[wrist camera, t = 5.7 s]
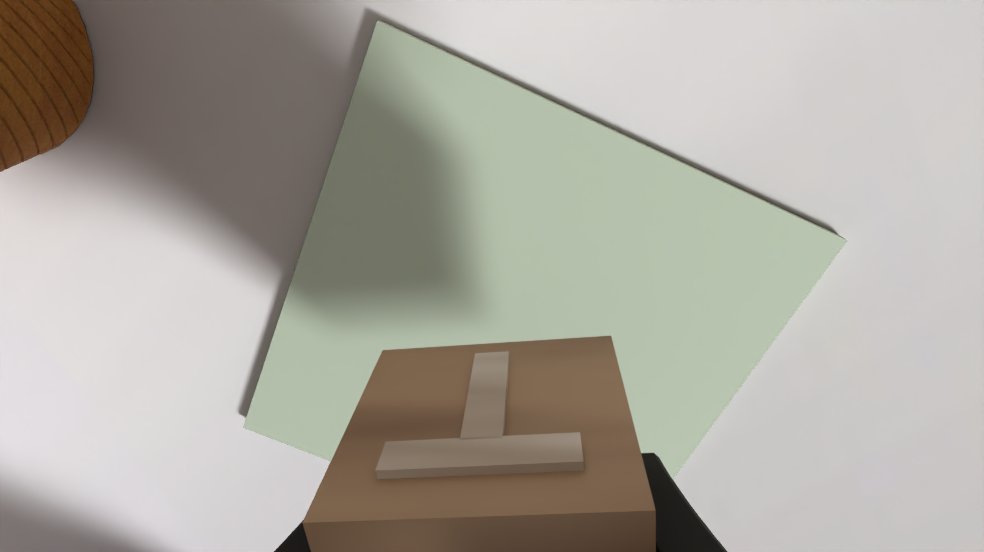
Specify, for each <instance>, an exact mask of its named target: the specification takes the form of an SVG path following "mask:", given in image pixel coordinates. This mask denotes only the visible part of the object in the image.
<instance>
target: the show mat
mask: <svg viewBox="0 0 984 552" xmlns="http://www.w3.org/2000/svg"><path fill="white" fill-rule="evenodd" d="M846 242H847V240H846V239H844V238H843V237H841V236H840V235H837V234H835V233H833V232H831V231H829V230H827V229H825V228H823V227H820V226H818V225H816V224H814V223H812V222H810V221H808V220H805V219H803V218H801V217H799V216H797V215H795V214H793V213H790V212H788V211H786V210H784V209H782V208H780V207H778V206H776V205H773V204H771V203H769V202H767V201H765V200H763V199H761V198H758V197H756V196H754V195H752V194H750V193H748V192H746V191H743V190H741V189H739V188H737V187H735V186H733V185H731V184H729V183H726V182H724V181H722V180H720V179H718V178H716V177H714V176H711V175H709V174H707V173H705V172H703V171H701V170H699V169H696V168H694V167H692V166H690V165H688V164H686V163H684V162H682V161H679V160H677V159H675V158H673V157H671V156H669V155H667V154H664V153H662V152H660V151H658V150H656V149H654V148H652V147H649V146H647V145H645V144H643V143H641V142H639V141H637V140H635V139H632V138H630V137H628V136H626V135H624V134H622V133H620V132H617V131H615V130H613V129H611V128H609V127H607V126H605V125H602V124H600V123H598V122H596V121H594V120H592V119H590V118H588V117H585V116H583V115H581V114H579V113H577V112H575V111H573V110H570V109H568V108H566V107H564V106H562V105H560V104H558V103H555V102H553V101H551V100H549V99H547V98H545V97H543V96H541V95H538V94H536V93H534V92H532V91H530V90H528V89H526V88H523V87H521V86H519V85H517V84H515V83H513V82H511V81H508V80H506V79H504V78H502V77H500V76H498V75H496V74H494V73H491V72H489V71H487V70H485V69H483V68H481V67H479V66H476V65H474V64H472V63H470V62H468V61H466V60H464V59H461V58H459V57H457V56H455V55H453V54H451V53H449V52H446V51H444V50H442V49H440V48H438V47H436V46H434V45H432V44H429V43H427V42H425V41H423V40H421V39H419V38H417V37H414V36H412V35H410V34H408V33H406V32H404V31H402V30H399V29H397V28H395V27H393V26H391V25H389V24H387V23H385V22H382V21H377V22H376V25H375V28H374V32H373V35H372V38H371V41H370V44H369V47H368V50H367V53H366V56H365V59H364V62H363V65H362V68H361V71H360V74H359V77H358V80H357V83H356V86H355V89H354V92H353V95H352V98H351V101H350V104H349V107H348V110H347V113H346V117H345V120H344V123H343V126H342V129H341V132H340V135H339V138H338V141H337V144H336V147H335V150H334V153H333V156H332V159H331V162H330V165H329V168H328V171H327V174H326V177H325V180H324V183H323V186H322V189H321V192H320V195H319V198H318V201H317V205H316V208H315V211H314V214H313V217H312V220H311V223H310V226H309V229H308V232H307V235H306V238H305V241H304V244H303V247H302V250H301V253H300V256H299V259H298V262H297V265H296V268H295V271H294V274H293V277H292V280H291V283H290V286H289V289H288V293H287V296H286V299H285V302H284V305H283V308H282V311H281V314H280V317H279V320H278V323H277V326H276V329H275V332H274V335H273V338H272V341H271V344H270V347H269V350H268V353H267V356H266V359H265V362H264V365H263V368H262V371H261V374H260V378H259V381H258V384H257V387H256V390H255V393H254V396H253V399H252V402H251V405H250V408H249V411H248V414H247V417H246V420H245V423H244V426H243V428H246V429H248V430H251V431H253V432H256V433H259V434H261V435H264V436H266V437H269V438H272V439H274V440H277V441H279V442H282V443H285V444H287V445H290V446H292V447H295V448H298V449H300V450H303V451H305V452H308V453H311V454H313V455H316V456H318V457H321V458H324V459H326V460H329V461H331V460H332V458H333V456H334V454H335V452H336V449H337V447H338V445H339V443H340V441H341V439H342V437H343V434H344V432H345V430H346V428H347V426H348V424H349V421H350V419H351V417H352V415H353V413H354V411H355V409H356V406H357V404H358V402H359V400H360V398H361V396H362V393H363V391H364V389H365V387H366V385H367V383H368V381H369V378H370V376H371V374H372V372H373V370H374V368H375V365H376V363H377V361H378V359H379V357H380V355H381V353H382V350H393V349H409V348H424V347H440V346H456V345H471V344H487V343H503V342H519V341H534V340H550V339H566V338H581V337H597V336H611V337H612V341H613V345H614V349H615V353H616V357H617V361H618V365H619V369H620V373H621V376H622V380H623V384H624V388H625V392H626V396H627V400H628V404H629V408H630V412H631V416H632V420H633V423H634V427H635V431H636V435H637V439H638V443H639V447H640V451H641V453H655V454H656V455H657V456H658V457H659V458H660V460H661V461H662V463H663V465H664V467H665V468H666V470H667V471H668V473H669V475H670V476H671V478H672V479H674V477H675V476H676V475H677V473H678V472H679V471H680V469H681V468H682V466H683V465H684V464H685V462H686V461H687V460H688V458H689V457H690V456H691V454H692V453H693V451H694V450H695V449H696V447H697V446H698V445H699V443H700V442H701V440H702V439H703V438H704V436H705V435H706V434H707V432H708V431H709V429H710V428H711V427H712V425H713V424H714V423H715V421H716V420H717V419H718V417H719V416H720V414H721V413H722V412H723V410H724V409H725V408H726V406H727V405H728V403H729V402H730V401H731V399H732V398H733V397H734V395H735V394H736V392H737V391H738V390H739V388H740V387H741V386H742V384H743V383H744V382H745V380H746V379H747V377H748V376H749V375H750V373H751V372H752V371H753V369H754V368H755V366H756V365H757V364H758V362H759V361H760V360H761V358H762V357H763V355H764V354H765V353H766V351H767V350H768V349H769V347H770V346H771V345H772V343H773V342H774V340H775V339H776V338H777V336H778V335H779V334H780V332H781V331H782V329H783V328H784V327H785V325H786V324H787V323H788V321H789V320H790V318H791V317H792V316H793V314H794V313H795V312H796V310H797V309H798V308H799V306H800V305H801V303H802V302H803V301H804V299H805V298H806V297H807V295H808V294H809V292H810V291H811V290H812V288H813V287H814V286H815V284H816V283H817V281H818V280H819V279H820V277H821V276H822V275H823V273H824V272H825V271H826V269H827V268H828V266H829V265H830V264H831V262H832V261H833V260H834V258H835V257H836V255H837V254H838V253H839V251H840V250H841V249H842V247H843V246H844V244H845V243H846Z"/></svg>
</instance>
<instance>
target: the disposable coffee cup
mask: <svg viewBox="0 0 984 552" xmlns="http://www.w3.org/2000/svg"><path fill="white" fill-rule="evenodd" d="M93 81H94V76H93V57H92V53H91V49H90V45H89V41H88V37H87V33H86V29H85V26H84V24H83V21H82V19H81V17H80V14H79V12H78V9H77V7H76V5H75V4H74V2H73V1H72V0H0V172H1V171H3V170H4V169H7V168H10V167H12V166H14V165H16V164H19V163H21V162H24V161H26V160H28V159H30V158H32V157H35V156H37V155H39V154H43V153H45V152H47V151H49V150H51V149H54V148H56V147H58V146H60V145H61V144H62V143H63V142H64V141H65V140H66V139H67V138H68V137H70V136H71V135H72V134H73V133H74V132H75V131H76V129H77V128H78V127H79V125H80V124H81V122H82V121H83V119H84V117H85V114H86V112H87V109H88V106H89V104H90V101H91V95H92V88H93Z"/></svg>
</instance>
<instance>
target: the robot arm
mask: <svg viewBox="0 0 984 552" xmlns="http://www.w3.org/2000/svg"><path fill="white" fill-rule="evenodd" d="M641 455H642V459H643V463H644V467H645V470H646V474H647V478H648V482H649V486H650V490H651V494H652V498H653V502H654V506H655V510H656V552H727V551H726V549H725V548H724V547H723V546H722V545H721V543H720V542H719V541H718V540H717V539H716V537H715V536H714V535H713V534H712V532H711V531H710V530H709V529H708V527H707V526H706V525H705V523H704V522H703V521H702V520H701V518H700V517H699V516H698V515H697V513H696V512H695V511H694V509H693V508H692V507H691V505H690V504H689V502H688V501H687V500H686V498H685V497H684V495H683V494H682V493H681V491H680V490H679V488H678V487H677V485H676V484H675V482H674V481H673V479H672V478H671V476H670V475H669V473H668V471H667V470H666V468H665V467H664V465H663V463H662V461H661V460H660V458H659V457H658V456H657V455H656V454H655V453H641ZM303 521H304V520H303ZM303 521H302V522H301V523H300V524H299V525H298V527H297V528H296V529H295V530H294V531H293V532H292V533H291V534H290V535H289V536H288V537H287V539H286V540H285V541H284V542H283V543H282V544H281V545H280V546H279V547H278V548H277V549H276V550H275V551H274V552H311V550H310V547H309V543H308V540H307V537H306V533H305V530H304V526H303Z"/></svg>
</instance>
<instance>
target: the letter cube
mask: <svg viewBox="0 0 984 552" xmlns="http://www.w3.org/2000/svg"><path fill="white" fill-rule="evenodd" d="M303 526H304V530H305V533H306V537H307V540H308V543H309V547H310V550H311V552H656V510H655V506H654V502H653V498H652V494H651V490H650V486H649V482H648V478H647V474H646V470H645V467H644V463H643V459H642V455H641V451H640V447H639V443H638V439H637V435H636V431H635V427H634V423H633V420H632V416H631V412H630V408H629V404H628V400H627V396H626V392H625V388H624V384H623V380H622V376H621V373H620V369H619V365H618V361H617V357H616V353H615V349H614V345H613V341H612V337H611V336H597V337H581V338H566V339H550V340H534V341H519V342H503V343H487V344H471V345H456V346H440V347H424V348H409V349H393V350H382V353H381V355H380V357H379V359H378V361H377V363H376V365H375V368H374V370H373V372H372V374H371V376H370V378H369V381H368V383H367V385H366V387H365V389H364V391H363V393H362V396H361V398H360V400H359V402H358V404H357V406H356V409H355V411H354V413H353V415H352V417H351V419H350V421H349V424H348V426H347V428H346V430H345V432H344V434H343V437H342V439H341V441H340V443H339V445H338V447H337V449H336V452H335V454H334V456H333V458H332V460H331V462H330V465H329V467H328V469H327V471H326V473H325V475H324V477H323V480H322V482H321V484H320V486H319V488H318V490H317V493H316V495H315V497H314V499H313V501H312V503H311V505H310V508H309V510H308V512H307V514H306V516H305V518H304V521H303Z"/></svg>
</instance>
